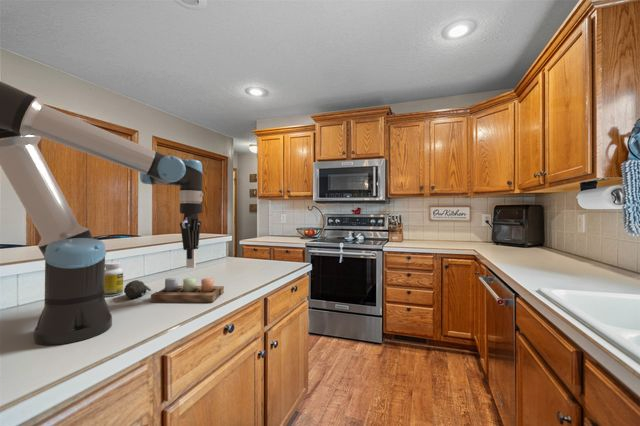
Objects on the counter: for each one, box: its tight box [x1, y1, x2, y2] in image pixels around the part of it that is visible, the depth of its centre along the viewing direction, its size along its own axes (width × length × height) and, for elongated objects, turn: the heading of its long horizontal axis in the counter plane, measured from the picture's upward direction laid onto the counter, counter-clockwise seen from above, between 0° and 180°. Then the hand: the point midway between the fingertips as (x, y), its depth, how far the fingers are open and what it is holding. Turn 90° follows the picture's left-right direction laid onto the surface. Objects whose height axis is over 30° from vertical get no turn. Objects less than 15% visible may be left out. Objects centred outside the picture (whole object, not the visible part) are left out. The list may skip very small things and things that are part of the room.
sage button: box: [182, 277, 197, 292], centre depth 103 cm, size 4×4×4 cm
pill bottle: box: [104, 261, 124, 298], centre depth 104 cm, size 6×6×12 cm
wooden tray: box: [150, 285, 225, 304], centre depth 103 cm, size 21×12×2 cm, turn 92°
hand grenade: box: [123, 279, 152, 299], centre depth 103 cm, size 6×7×12 cm
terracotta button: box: [200, 277, 215, 292], centre depth 103 cm, size 4×4×4 cm
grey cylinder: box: [164, 277, 179, 292], centre depth 103 cm, size 4×4×4 cm
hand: (191, 267), depth 103 cm, fingers closed
